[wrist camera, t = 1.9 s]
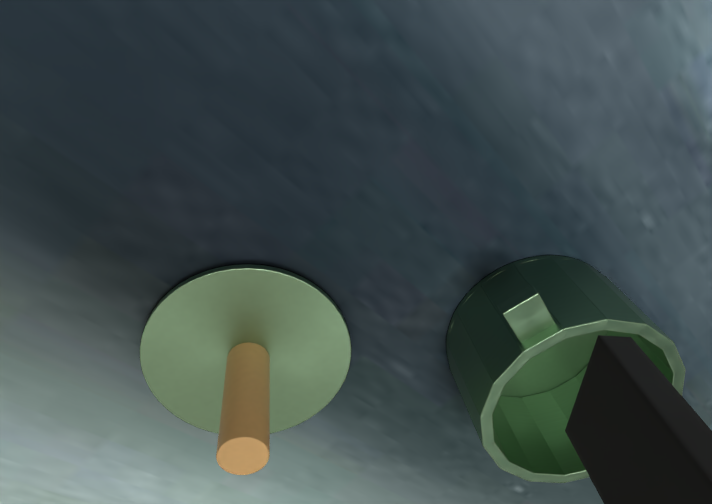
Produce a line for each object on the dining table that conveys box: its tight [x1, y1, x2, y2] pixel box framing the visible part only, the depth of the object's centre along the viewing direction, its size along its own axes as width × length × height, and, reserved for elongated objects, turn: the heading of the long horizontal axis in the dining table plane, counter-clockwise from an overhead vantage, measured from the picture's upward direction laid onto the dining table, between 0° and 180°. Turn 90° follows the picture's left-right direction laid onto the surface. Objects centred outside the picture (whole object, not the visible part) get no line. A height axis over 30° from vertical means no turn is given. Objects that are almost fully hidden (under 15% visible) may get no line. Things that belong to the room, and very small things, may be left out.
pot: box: [446, 255, 685, 483], centre depth 41 cm, size 14×19×8 cm
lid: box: [140, 264, 351, 475], centre depth 37 cm, size 15×15×10 cm
